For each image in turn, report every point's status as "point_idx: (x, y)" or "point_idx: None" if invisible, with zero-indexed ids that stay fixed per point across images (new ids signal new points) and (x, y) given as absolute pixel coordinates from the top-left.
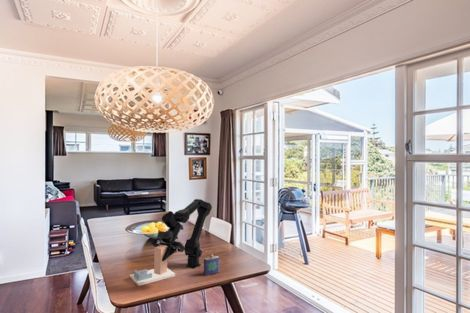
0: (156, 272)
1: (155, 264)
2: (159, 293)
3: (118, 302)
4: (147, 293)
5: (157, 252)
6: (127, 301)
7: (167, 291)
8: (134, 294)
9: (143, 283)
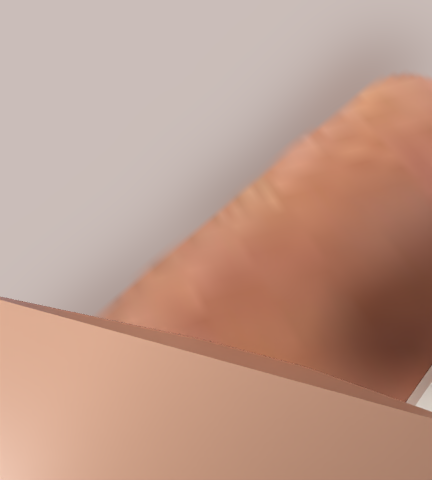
0: (266, 356)
1: (294, 365)
2: (188, 263)
3: (407, 76)
4: (281, 239)
5: (241, 358)
6: (355, 103)
7: (139, 310)
8: (373, 199)
9: (421, 387)
